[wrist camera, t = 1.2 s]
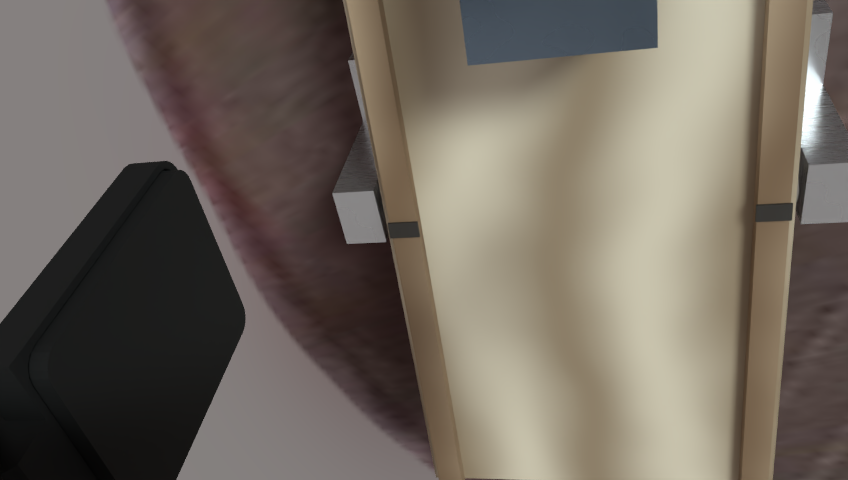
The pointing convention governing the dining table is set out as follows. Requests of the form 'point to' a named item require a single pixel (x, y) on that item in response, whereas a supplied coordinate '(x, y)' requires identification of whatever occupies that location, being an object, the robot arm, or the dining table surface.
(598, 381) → the beam
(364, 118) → the pivot stand
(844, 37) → the dining table surface
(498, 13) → the grey block
